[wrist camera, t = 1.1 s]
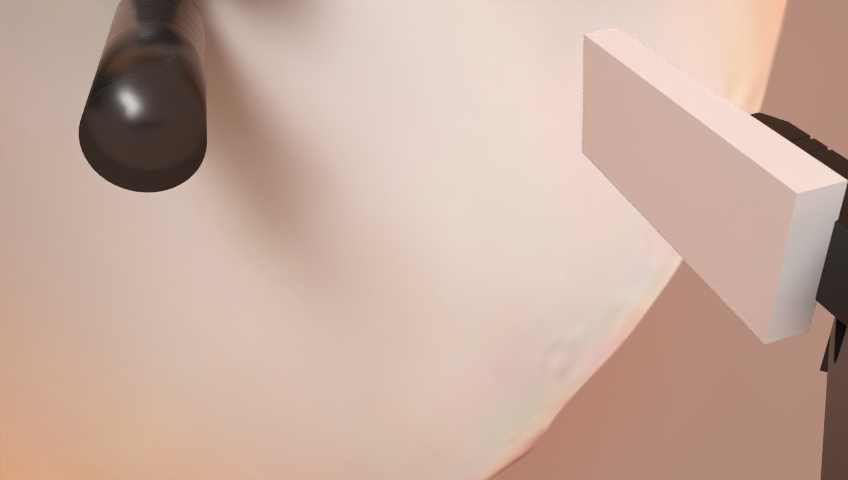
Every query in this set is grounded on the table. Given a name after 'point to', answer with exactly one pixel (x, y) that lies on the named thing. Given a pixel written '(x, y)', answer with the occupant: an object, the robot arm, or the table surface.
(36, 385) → the table surface
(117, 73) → the lever
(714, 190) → the robot arm
